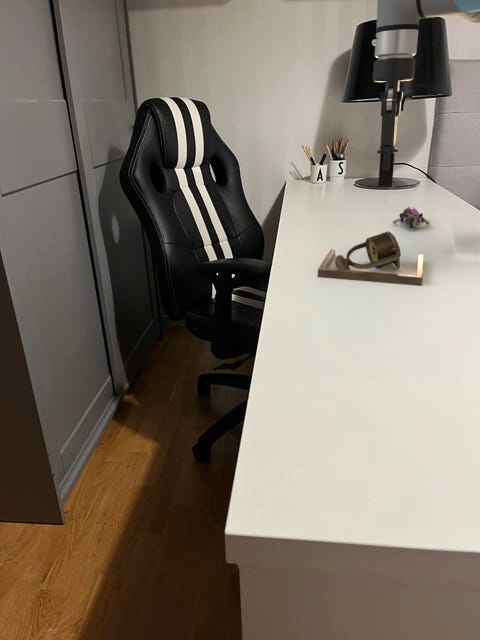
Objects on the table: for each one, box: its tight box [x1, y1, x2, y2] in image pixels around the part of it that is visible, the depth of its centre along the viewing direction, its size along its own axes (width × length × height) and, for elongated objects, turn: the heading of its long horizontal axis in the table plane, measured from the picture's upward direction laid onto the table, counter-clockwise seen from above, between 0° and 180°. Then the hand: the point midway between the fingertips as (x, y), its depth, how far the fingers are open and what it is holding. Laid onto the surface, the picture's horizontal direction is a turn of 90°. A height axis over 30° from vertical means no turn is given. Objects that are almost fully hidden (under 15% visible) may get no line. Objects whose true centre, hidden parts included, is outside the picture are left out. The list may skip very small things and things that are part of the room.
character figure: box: [392, 206, 430, 229], centre depth 131 cm, size 9×4×16 cm
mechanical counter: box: [334, 231, 402, 270], centre depth 99 cm, size 7×13×10 cm
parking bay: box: [317, 248, 424, 286], centre depth 99 cm, size 19×14×2 cm
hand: (385, 186), depth 104 cm, fingers closed
